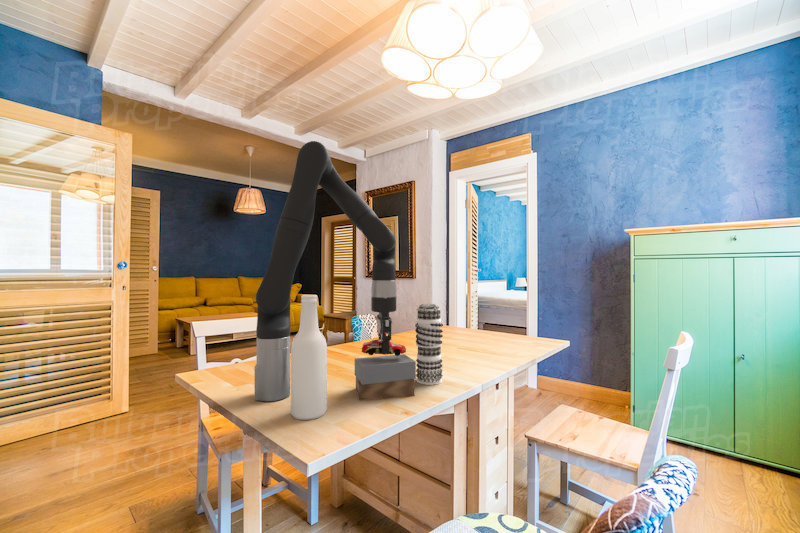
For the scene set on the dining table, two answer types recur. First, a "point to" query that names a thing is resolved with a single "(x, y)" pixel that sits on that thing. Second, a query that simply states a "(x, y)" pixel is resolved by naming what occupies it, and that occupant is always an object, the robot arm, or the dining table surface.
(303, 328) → the white bottle
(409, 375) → the top block
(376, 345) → the race car
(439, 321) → the decorative candle
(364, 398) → the bottom block
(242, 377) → the dining table surface
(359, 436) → the dining table surface
